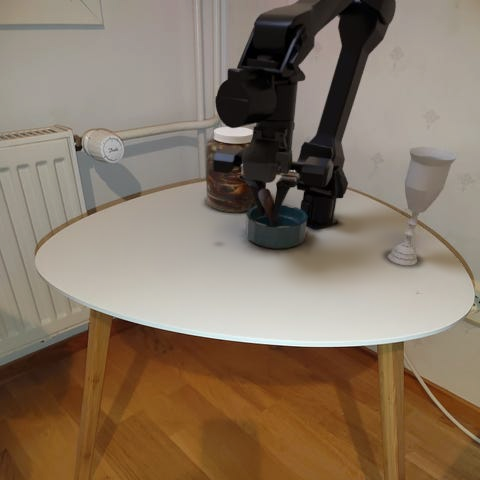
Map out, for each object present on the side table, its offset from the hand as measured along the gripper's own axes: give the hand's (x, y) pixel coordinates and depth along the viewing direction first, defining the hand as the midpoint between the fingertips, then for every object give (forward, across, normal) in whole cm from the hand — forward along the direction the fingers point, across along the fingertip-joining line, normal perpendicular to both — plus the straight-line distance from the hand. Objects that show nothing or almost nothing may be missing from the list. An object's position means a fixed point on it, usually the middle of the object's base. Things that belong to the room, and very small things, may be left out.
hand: (268, 216), depth 72 cm
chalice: (+7, +23, +7) cm, 25 cm away
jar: (+7, -14, +19) cm, 25 cm away
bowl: (+6, 0, +6) cm, 9 cm away
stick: (+4, 0, +6) cm, 7 cm away
